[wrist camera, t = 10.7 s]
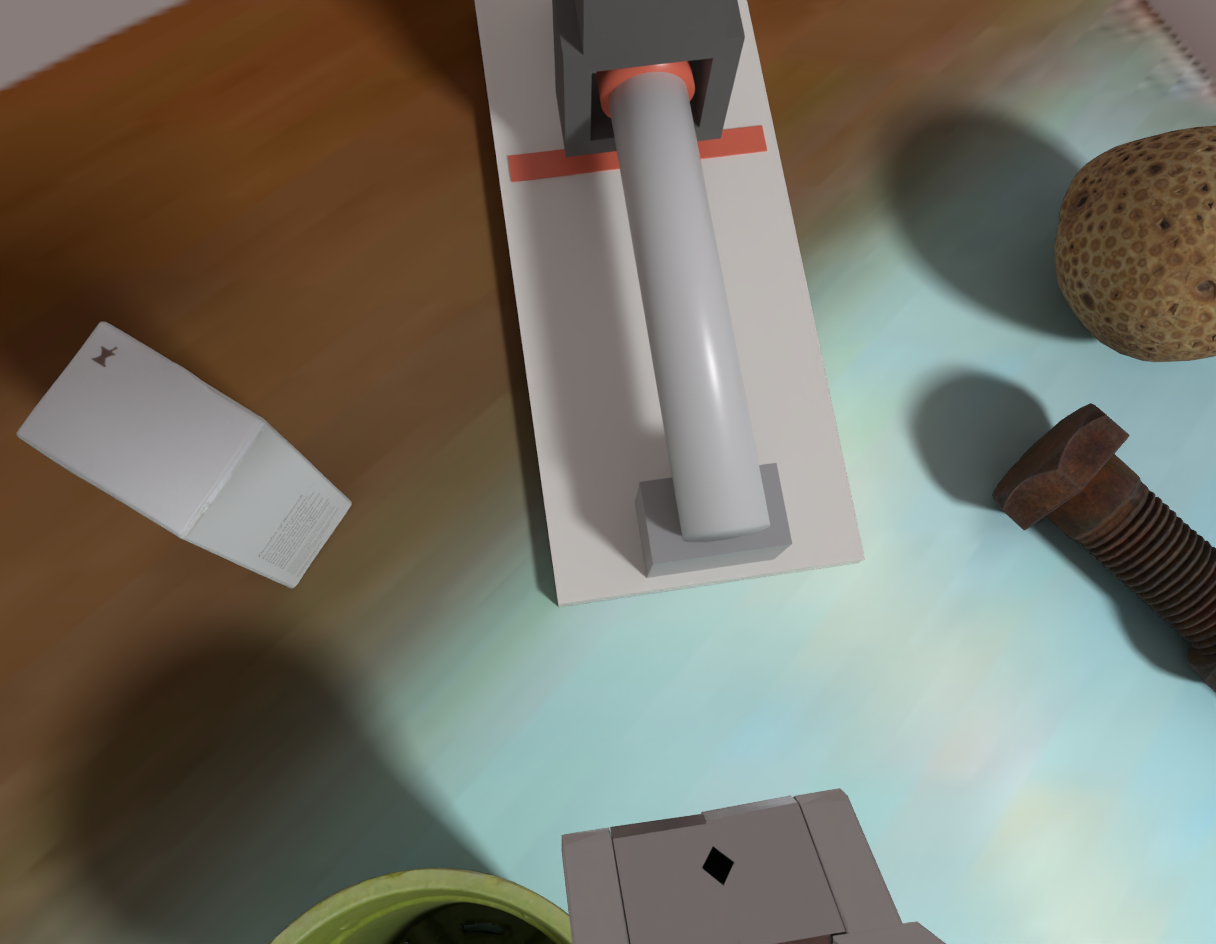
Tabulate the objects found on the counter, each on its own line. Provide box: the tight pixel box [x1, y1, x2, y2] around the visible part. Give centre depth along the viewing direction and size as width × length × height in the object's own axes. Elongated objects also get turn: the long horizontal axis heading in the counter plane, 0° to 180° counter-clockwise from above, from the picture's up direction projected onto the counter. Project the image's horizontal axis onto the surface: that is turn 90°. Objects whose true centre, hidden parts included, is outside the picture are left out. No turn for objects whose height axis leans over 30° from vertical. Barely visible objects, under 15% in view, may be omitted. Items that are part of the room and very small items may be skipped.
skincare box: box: [17, 322, 352, 588], centre depth 35 cm, size 6×4×12 cm
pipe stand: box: [475, 0, 865, 607], centre depth 40 cm, size 27×12×8 cm, turn 9°
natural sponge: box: [1054, 126, 1216, 362], centre depth 39 cm, size 9×9×10 cm
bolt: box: [993, 403, 1216, 692], centre depth 39 cm, size 6×5×15 cm
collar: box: [552, 0, 745, 157], centre depth 37 cm, size 3×6×11 cm, turn 99°
